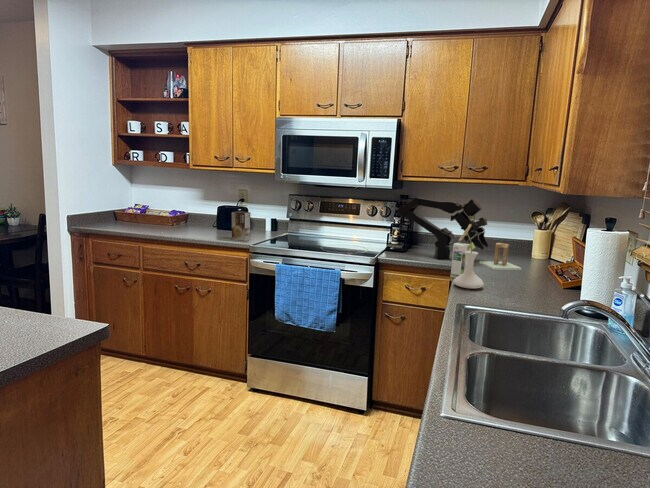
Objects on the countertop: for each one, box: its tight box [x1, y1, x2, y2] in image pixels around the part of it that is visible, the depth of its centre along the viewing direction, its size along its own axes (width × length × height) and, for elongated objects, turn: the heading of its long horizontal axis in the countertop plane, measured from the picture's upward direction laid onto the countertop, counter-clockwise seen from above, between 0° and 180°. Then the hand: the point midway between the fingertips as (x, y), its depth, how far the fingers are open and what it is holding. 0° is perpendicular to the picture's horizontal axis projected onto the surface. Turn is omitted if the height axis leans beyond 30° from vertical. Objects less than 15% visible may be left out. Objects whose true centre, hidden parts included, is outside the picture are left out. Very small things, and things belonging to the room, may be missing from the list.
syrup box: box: [450, 242, 471, 279], centre depth 193 cm, size 6×6×14 cm
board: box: [478, 260, 523, 271], centre depth 220 cm, size 14×14×1 cm
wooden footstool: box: [493, 242, 510, 266], centre depth 219 cm, size 5×5×10 cm
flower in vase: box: [453, 224, 485, 290], centre depth 176 cm, size 13×11×25 cm
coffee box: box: [231, 211, 251, 242], centre depth 265 cm, size 9×6×16 cm
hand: (485, 247), depth 222 cm, fingers open, 9 cm apart
